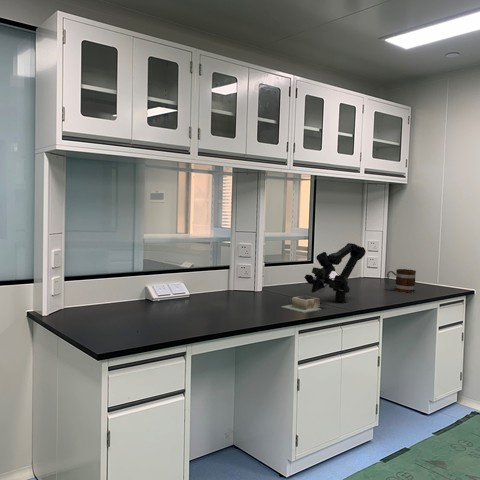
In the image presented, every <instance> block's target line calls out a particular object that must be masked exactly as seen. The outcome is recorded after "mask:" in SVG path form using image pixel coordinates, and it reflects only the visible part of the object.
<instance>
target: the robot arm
mask: <svg viewBox="0 0 480 480" xmlns="http://www.w3.org/2000/svg"><path fill="white" fill-rule="evenodd" d="M366 251H367V250H366V249H365V248H364V247H363V246H360V245H357V244H355V243H352V242H348V243H347V244H346V245H345V246H343V247H342V248H341V249H339V250H338V251H336V252H332V253H330V254H328V253H327V252H326V251H322V252H321V253H319V254H317V256H315V257H316V260H317V261H318V263H319V266H320V267H321V268H320V267H312V269H311V274H309V273H308V274H305V276H304V279H305V281H306V283H307V284H309V285H312V287H311V293H316V292H317V291H319V290H321V289H325V288H326V286H327V285H328V288H330V289H332V291H333V292H335V298H334V299H333V300H332V301H333V302H336V303H343V304H344V303H348V302H349V301H348V300H347V293H350V289H351V288H350V287H349V285H348V284H349V281H348V280H349V277H350V275H351V273H352V271H353V270H354V268H355V266H356V264H357V263H358V261H359V260H362V259H363V257H364V256H365V255H366ZM348 255H350V256H349V259H348V260H347V263H346V264H345V266H344V268H343V269H342V271H341V272H340V274H339V275H338V274H336V275H335V276H334V278H333V279H332V278H331V276H330V275H331V273H332V272H336V268H335V267H336V266H338V265H340V264H341V263H342V262H343V261H342V260H343V259H344V258H345V257H346V256H348ZM312 274H313V275H312Z"/></svg>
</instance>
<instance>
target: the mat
mask: <svg viewBox="0 0 480 480" xmlns="http://www.w3.org/2000/svg"><path fill="white" fill-rule="evenodd" d="M281 308H282V309H287V310H291V311H295V312H297V313H298V312H299V313H303V314H306V313H311V312H315V311H321V310H322V308H320V307H318V308H313V309H307V310H304V309H300V308H296V307H292V304H287V305H282V306H281Z"/></svg>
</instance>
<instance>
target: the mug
mask: <svg viewBox="0 0 480 480" xmlns="http://www.w3.org/2000/svg"><path fill="white" fill-rule="evenodd" d="M395 272H396V273H395ZM395 272H394V271H393V270H389V271H388V272H387V274H386V277H387V279H386V282H387V284H386V285H387V287H388V288H390V289H391V288H395V289H394V291H395V292H397V291H398V293H402V292H406V293H405V294H413V293H412V292H414V291H415V288H416V274H417V270H414V269H406V268H405V269H404V268H397V269H396V271H395ZM390 274H393V275H394V276H396V277H395V285H390V276H389V275H390ZM415 292H416V291H415ZM415 292H414V293H415Z"/></svg>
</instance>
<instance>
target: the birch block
mask: <svg viewBox="0 0 480 480" xmlns="http://www.w3.org/2000/svg"><path fill="white" fill-rule="evenodd" d="M320 304H321V298H320V297H315V296H311V295H301V296H294V297H292V298H291V305H292V307H296V308H300V309H304V310H307V309H313V308H320V306H321V305H320Z"/></svg>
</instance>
